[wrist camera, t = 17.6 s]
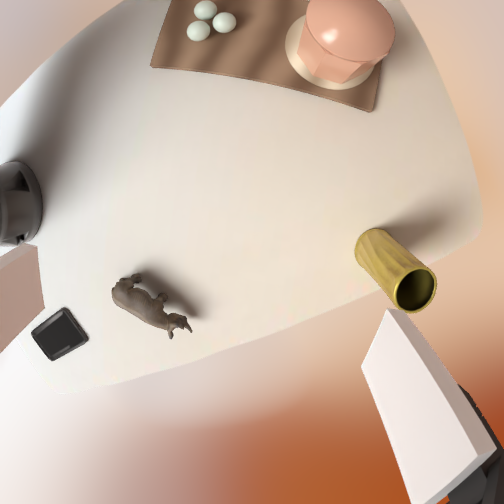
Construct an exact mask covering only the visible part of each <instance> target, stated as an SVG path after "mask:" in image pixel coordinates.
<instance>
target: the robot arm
mask: <svg viewBox="0 0 504 504" xmlns="http://www.w3.org/2000/svg"><path fill="white" fill-rule="evenodd" d="M41 217H42V197H41V191H40V187H39V184H38V181H37V179H36V177H35V175H34V173H33V172H32V170H31V169H30V168H29V167H28V166H27V165H25V164H24V163H22V162H18V161H14V162H7V163H4V164H2V165H0V246H18V247H16V248H14V249H13V250H11V251H9V252H8V253H6V254H4V255H3V256H1V257H0V353H1V352H2V351H3V350H4V349H5V348H6V347H7V346H8V345H9V344H10V343H11V341H12V340H13V339H14V338H15V337H16V336H17V335H18V334H19V333H20V332H21V331H22V330H23V329H24V328H25V327H26V326H27V325H28V324H29V323H30V322H31V321H32V320H33V319H34V318H35V317H36V316H37V315H38V314H39V313H40V312H41V311H42V310H43V309H45V307H44V300H43V294H42V287H41V280H40V271H39V262H38V251H37V246H34V245H30V244H26V242H28V241H30V240H31V239H32V238H33V237H34V236H35V234H36V233H37V231H38V228H39V225H40V222H41ZM19 245H20V246H19ZM361 368H362V371H363V373H364V376H365V378H366V380H367V383H368V385H369V388H370V390H371V393H372V395H373V398H374V400H375V403H376V405H377V408H378V411H379V413H380V416H381V419H382V421H383V423H384V426H385V429H386V432H387V434H388V436H389V440H390V442H391V445H392V448H393V451H394V453H395V456H396V459H397V462H398V465H399V468H400V471H401V474H402V477H403V480H404V483H405V485H406V489H407V492H408V495H409V498H410V501H411V504H436V503H437V502H439V501H440V500H441V499H442V498H444V497H445V496H446V495H448V498H449V500H450V501H449V502H448V503H446V504H504V449H503V447H502V446H501V444H500V442H499V441H498V439H497V437H496V436H495V434H494V432H493V431H492V429H491V428H490V426H489V424H488V423H487V421H486V419H485V418H484V416H482V413H481V411H480V410H479V408H478V407H476V404H475V402H474V401H473V399H472V398H471V396H470V395H469V393H468V392H467V391H465V390H464V389H463V388H462V387H461V386H460V385H458V384H457V383H456V382H455V380H454V379H453V377H452V376H451V374H450V373H449V372H448V370H447V369H446V367H445V366H444V364H443V363H442V361H441V360H440V359H439V357H438V356H437V354H436V353H435V352H434V350H433V349H432V347H431V346H430V345H429V343H428V342H427V341H426V340H425V338H424V337H423V335H422V334H421V332H420V331H419V330H418V328H417V327H416V326H415V325H414V323H413V322H412V321H411V319H410V318H409V317H408V315H407V314H406V313H405V311H404V310H395V309H386V312H385V314H384V316H383V319H382V322H381V324H380V326H379V328H378V331H377V333H376V335H375V337H374V340H373V342H372V344H371V346H370V349H369V351H368V353H367V355H366V357H365V359H364V361H363V363H362V366H361Z"/></svg>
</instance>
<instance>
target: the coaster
mask: <svg viewBox="0 0 504 504" xmlns="http://www.w3.org/2000/svg"><path fill="white" fill-rule="evenodd" d="M305 18H306V15H304V16H302V17H300V18H299V19H297V20H296V21H295V22H294V23H293V24H292V26H291V27H290V29H289V30H288V33H287V35H286V41H285V49H286V54H287V57H288V60H289V62H290V64H291V65H292V67H293V68H294V69H295V71H296V72H297V73H298V74H299V75H300V76H301V77H303V78H304V79H305V80H307V81H308V82H310V83H312V84H314V85H316V86H319V87H322V88H325V89H331V90H344V89H349V88H353V87H355V86H357V85H359V84H361V83H362V82H363V81H365V80H366V79H367V78H368V77H369V76H370V74H371V72H372V71H373V68H374V66H373V67H371V68H370V69H369V70H368V71H367V72H365V73H364V74H362V75H360V76H358V77H356V78H354V79H351V80H349V81H347V82H345V83H343V84H338V83H335V82H332V81H329V80H325V79H322V78H318V77H315V76H313V75H312V74H311V72H310V71H309V70H308V68H307V67H306V65H305V64H304V63H303V61H302V60H301V58H300V57H299V56H298V54H297V50H298V46H299V42H300V38H301V34H302V30H303V26H304V22H305Z"/></svg>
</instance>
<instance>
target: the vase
mask: <svg viewBox="0 0 504 504" xmlns="http://www.w3.org/2000/svg"><path fill="white" fill-rule="evenodd" d="M355 257H356V260H357V262H358V263H359V265H360V266H362V267H363V268H364V269H365V270H366V271H367V272H368V273H369V274H370V275H371V276H372V278H373V279H374V280H375V281H376V282H377V283H378V285H379V286H380V287H381V288H382V289H383V291H384V292H385V293H386V294H387V296H388V297H389V298H390V299H391V301H392V302H393V303H394V305H395V306H396V307H397V308H398V309H399V310H404V311H405V313H417V312H419V311H421V310H423V309H424V308H426V307H427V306H428V305H429V304H430V303H431V301H432V300H433V298H434V296H435V292H436V287H437V280H436V276H435V275H434V273H433V272H432V271H431V270H430V269H429V268H428V267H426V266H425V265H424V264H423V263H422V262H421V261H419V260H418V259H417V258H416V257H415V256H413V255H412V254H411V253H410V252H409V251H407V250H406V249H405V248H404V247H403V246H402V245H400V244H399V243H398V242H397V241H395V240H394V239H393V238H392V237H391V235H390V234H389V233H388V232H386V231H384V230H382V229H371V230H368V231H366V232H365V233H363V234H362V235H361V236H360V237H359V239H358V241H357V243H356V246H355Z"/></svg>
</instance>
